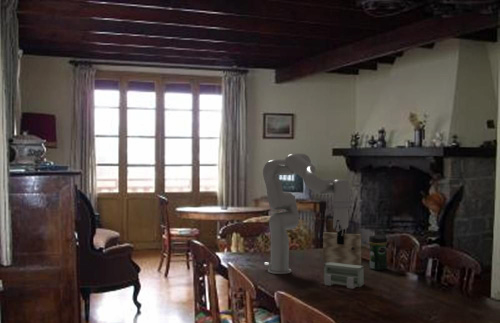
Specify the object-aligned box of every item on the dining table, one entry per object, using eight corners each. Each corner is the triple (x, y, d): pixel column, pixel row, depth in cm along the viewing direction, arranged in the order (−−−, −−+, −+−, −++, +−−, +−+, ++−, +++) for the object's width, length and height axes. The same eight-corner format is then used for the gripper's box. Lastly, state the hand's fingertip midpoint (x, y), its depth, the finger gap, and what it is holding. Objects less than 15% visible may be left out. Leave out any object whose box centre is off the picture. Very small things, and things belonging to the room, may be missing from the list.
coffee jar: (380, 266, 298) (381, 233, 298) (389, 269, 291) (389, 235, 290) (366, 267, 294) (366, 234, 294) (374, 270, 287) (374, 236, 287)
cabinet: (320, 284, 256) (320, 266, 256) (328, 280, 265) (328, 262, 265) (357, 289, 247) (357, 270, 247) (363, 284, 257) (363, 265, 257)
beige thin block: (322, 261, 256) (322, 232, 256) (324, 260, 259) (324, 232, 259) (359, 265, 247) (358, 235, 247) (361, 264, 250) (361, 234, 250)
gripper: (339, 203, 262) (339, 240, 262) (328, 206, 248) (328, 245, 248) (354, 204, 259) (354, 241, 259) (343, 206, 244) (343, 246, 245)
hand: (341, 243), depth 253 cm, fingers closed on beige thin block, 2 cm apart
